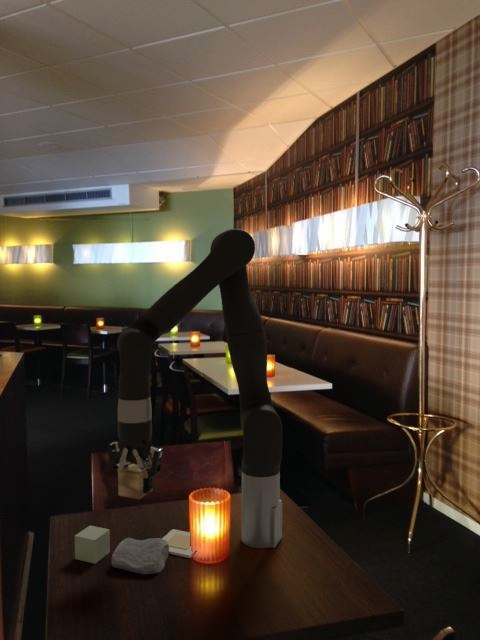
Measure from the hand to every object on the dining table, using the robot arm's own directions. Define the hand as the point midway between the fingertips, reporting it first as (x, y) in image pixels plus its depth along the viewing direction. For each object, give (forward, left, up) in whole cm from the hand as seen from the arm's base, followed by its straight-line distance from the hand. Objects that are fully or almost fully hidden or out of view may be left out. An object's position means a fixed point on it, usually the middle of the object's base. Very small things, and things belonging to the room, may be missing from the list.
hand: (135, 490), depth 119 cm
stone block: (-2, +2, -16) cm, 16 cm away
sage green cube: (+10, +3, -16) cm, 19 cm away
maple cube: (0, 0, -1) cm, 1 cm away
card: (-7, -9, -15) cm, 19 cm away
